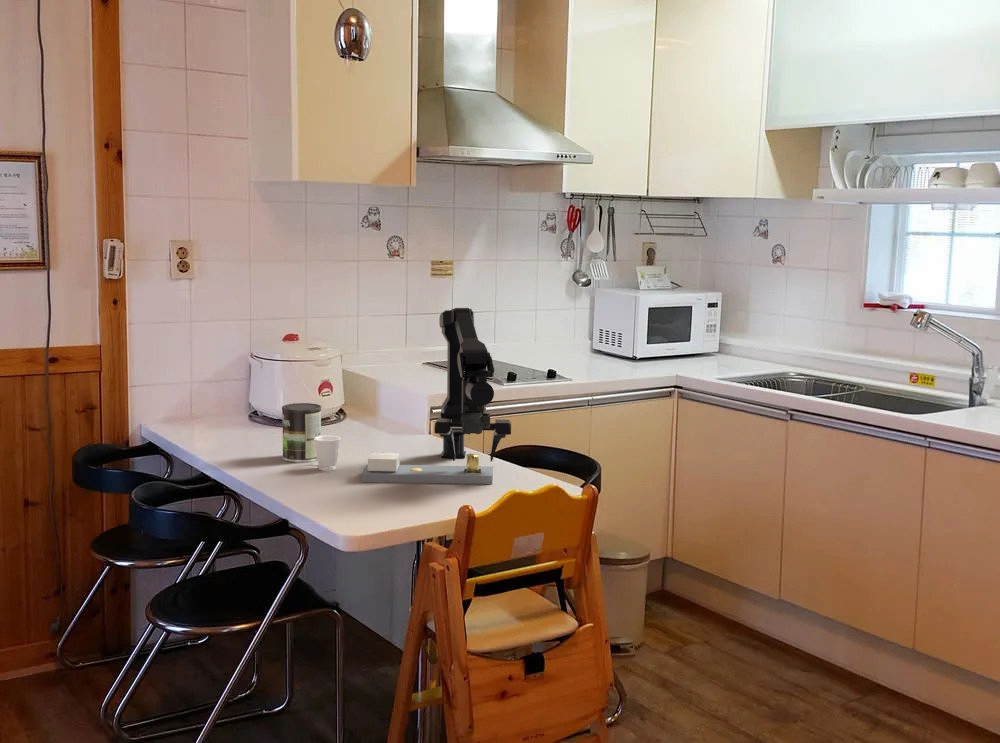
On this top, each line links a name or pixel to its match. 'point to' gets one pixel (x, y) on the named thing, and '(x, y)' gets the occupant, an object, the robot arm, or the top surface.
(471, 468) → the pin
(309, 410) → the coffee can
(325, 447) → the cup
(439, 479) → the board
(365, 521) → the top surface
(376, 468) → the cover
